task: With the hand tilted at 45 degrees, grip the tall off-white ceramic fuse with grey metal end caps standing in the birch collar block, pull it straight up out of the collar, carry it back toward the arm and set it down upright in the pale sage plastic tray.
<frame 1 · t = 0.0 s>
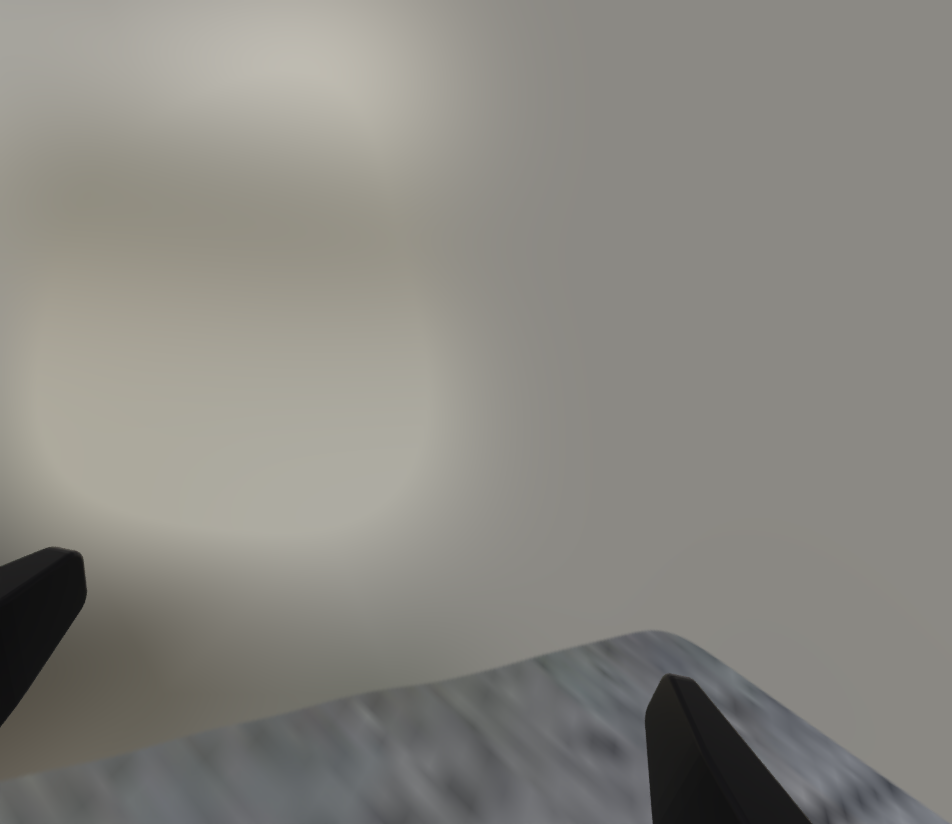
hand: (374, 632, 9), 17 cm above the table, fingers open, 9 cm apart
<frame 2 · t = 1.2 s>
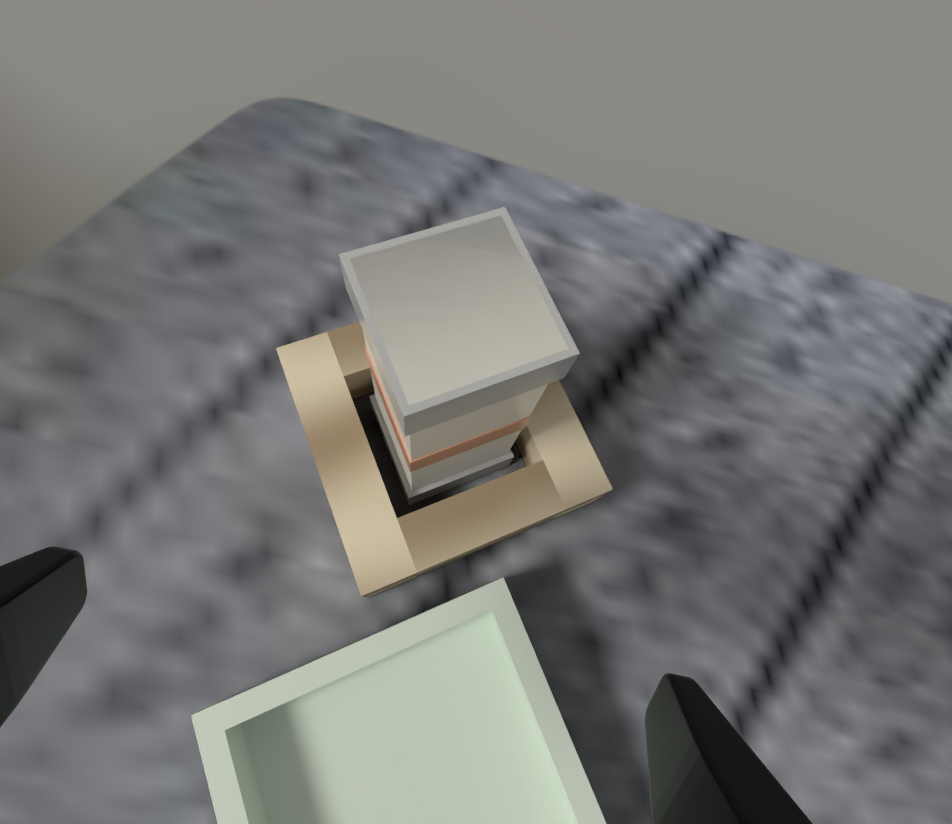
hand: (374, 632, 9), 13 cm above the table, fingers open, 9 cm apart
fuse: (439, 437, 24), resting in collar block
tray: (415, 791, 19), on the table
collar block: (439, 437, 24), on the table
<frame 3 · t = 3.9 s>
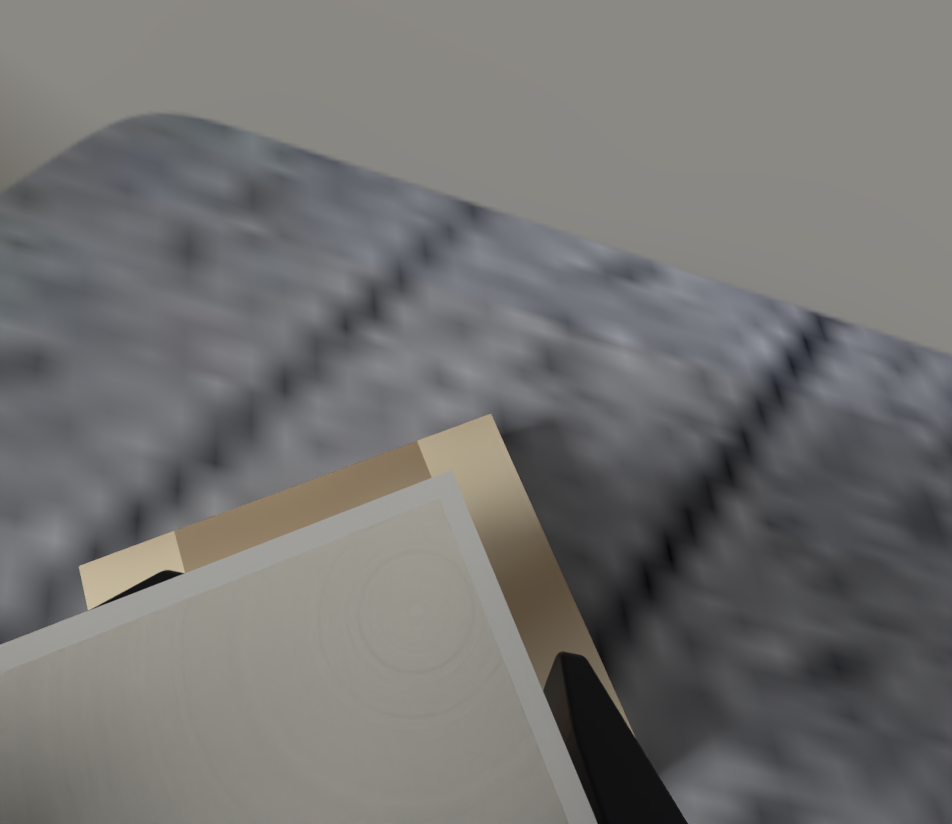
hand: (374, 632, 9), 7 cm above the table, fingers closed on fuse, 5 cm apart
fuse: (378, 680, 14), resting in collar block, touching gripper
collar block: (378, 681, 14), on the table
when the fingers open (9 cm above the table, at t = 8.0 s): fuse drops 1 cm, resting on tray.
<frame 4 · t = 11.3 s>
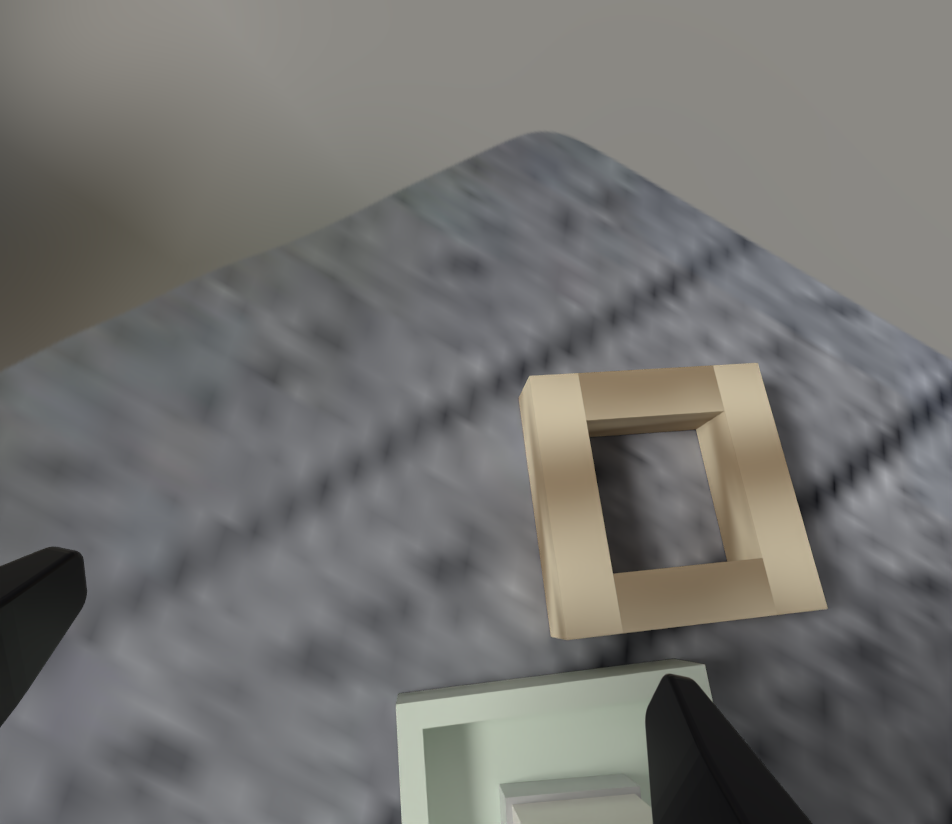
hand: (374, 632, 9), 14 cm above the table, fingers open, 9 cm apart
collar block: (646, 499, 24), on the table
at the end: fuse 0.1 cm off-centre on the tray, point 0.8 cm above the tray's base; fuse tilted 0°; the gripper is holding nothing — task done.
